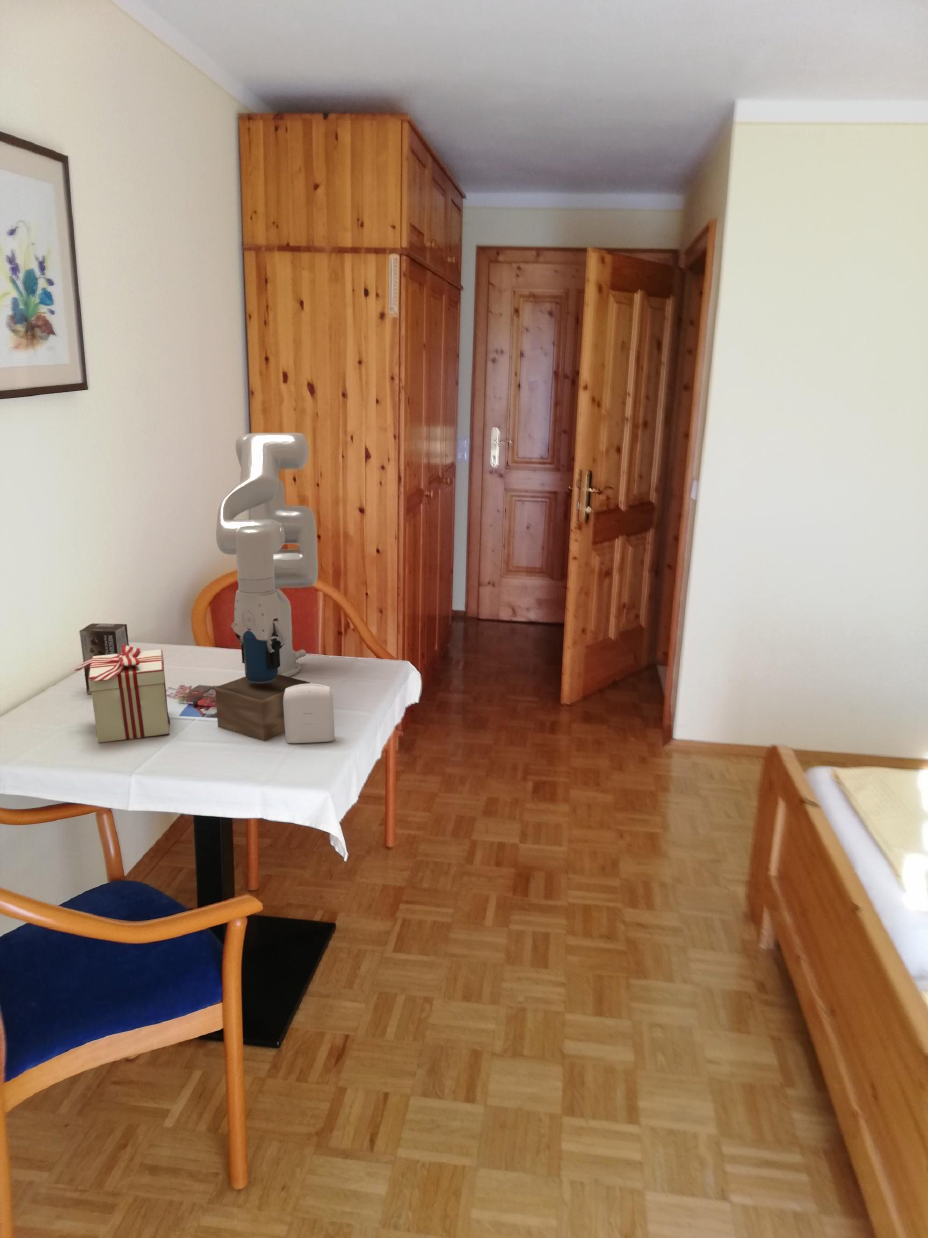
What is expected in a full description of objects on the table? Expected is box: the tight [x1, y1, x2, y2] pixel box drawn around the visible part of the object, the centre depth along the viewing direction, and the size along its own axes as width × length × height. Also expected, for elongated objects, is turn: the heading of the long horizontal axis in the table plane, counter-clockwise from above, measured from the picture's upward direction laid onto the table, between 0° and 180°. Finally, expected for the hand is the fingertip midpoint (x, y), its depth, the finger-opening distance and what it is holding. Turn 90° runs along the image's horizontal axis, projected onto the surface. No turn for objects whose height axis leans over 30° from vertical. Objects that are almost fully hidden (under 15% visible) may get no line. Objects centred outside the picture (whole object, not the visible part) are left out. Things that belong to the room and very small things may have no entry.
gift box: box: [73, 645, 171, 744], centre depth 198 cm, size 17×18×17 cm
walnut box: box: [213, 674, 311, 742], centre depth 203 cm, size 14×14×9 cm
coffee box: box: [79, 623, 130, 696], centre depth 222 cm, size 9×6×16 cm
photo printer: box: [283, 683, 336, 744], centre depth 193 cm, size 10×4×12 cm, turn 96°
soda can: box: [243, 629, 278, 683], centre depth 200 cm, size 7×7×12 cm
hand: (261, 664), depth 200 cm, fingers closed on soda can, 7 cm apart
